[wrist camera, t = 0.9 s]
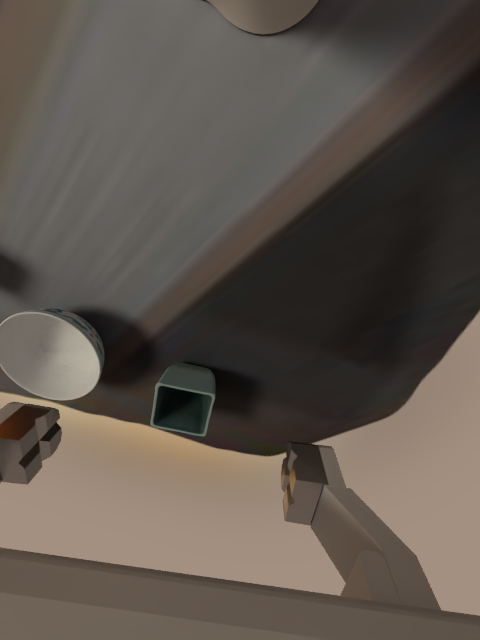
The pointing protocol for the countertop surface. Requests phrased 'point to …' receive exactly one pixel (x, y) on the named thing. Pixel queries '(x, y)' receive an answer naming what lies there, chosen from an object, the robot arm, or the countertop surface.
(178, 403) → the flower pot
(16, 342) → the chinaware
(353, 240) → the countertop surface
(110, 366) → the countertop surface
